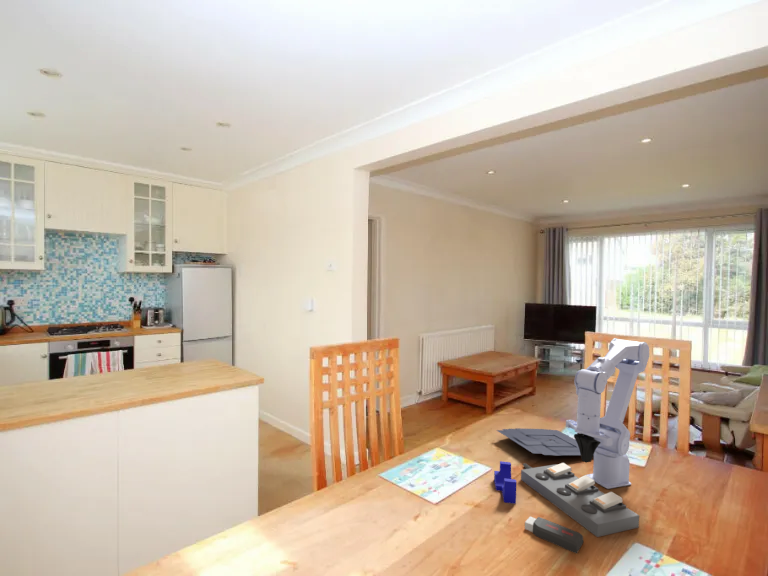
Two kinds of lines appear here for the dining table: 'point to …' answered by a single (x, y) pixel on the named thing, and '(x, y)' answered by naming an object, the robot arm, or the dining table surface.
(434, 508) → the dining table surface
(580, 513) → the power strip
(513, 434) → the grey ridged plate
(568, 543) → the usb drive
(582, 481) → the rocker middle
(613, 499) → the rocker
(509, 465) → the blue pipe cradle
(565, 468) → the rocker
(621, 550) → the dining table surface
